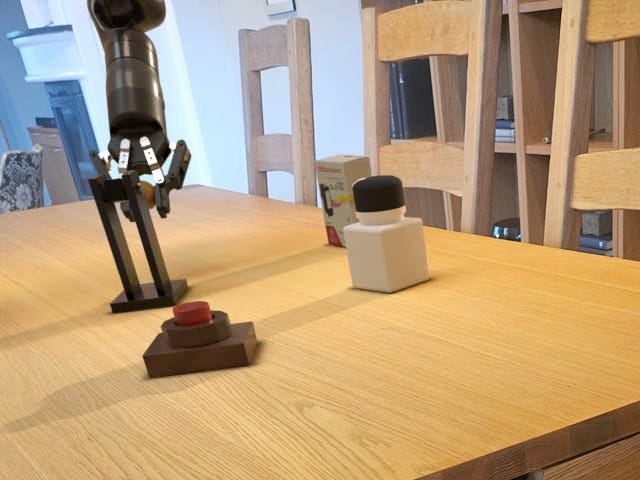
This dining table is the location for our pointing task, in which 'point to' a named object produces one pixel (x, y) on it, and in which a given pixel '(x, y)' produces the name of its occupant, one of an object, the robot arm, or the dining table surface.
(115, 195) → the ball knob lever
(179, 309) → the release button
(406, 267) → the medicine bottle
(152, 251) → the bracket
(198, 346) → the block
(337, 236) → the ink box
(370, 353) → the dining table surface
